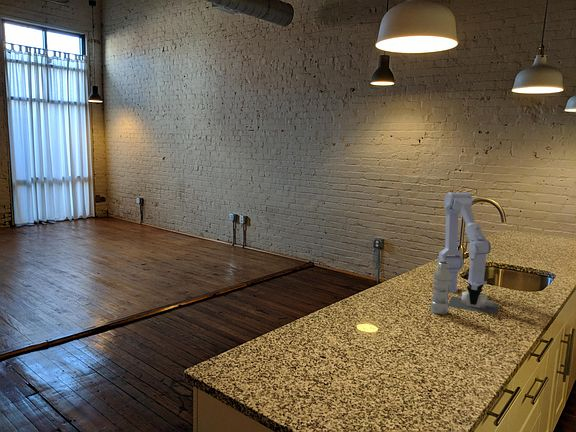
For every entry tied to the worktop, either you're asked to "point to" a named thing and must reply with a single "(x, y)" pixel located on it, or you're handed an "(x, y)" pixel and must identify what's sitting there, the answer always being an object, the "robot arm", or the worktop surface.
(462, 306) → the rubber mat
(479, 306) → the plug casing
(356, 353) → the worktop surface
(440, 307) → the plastic bottle
